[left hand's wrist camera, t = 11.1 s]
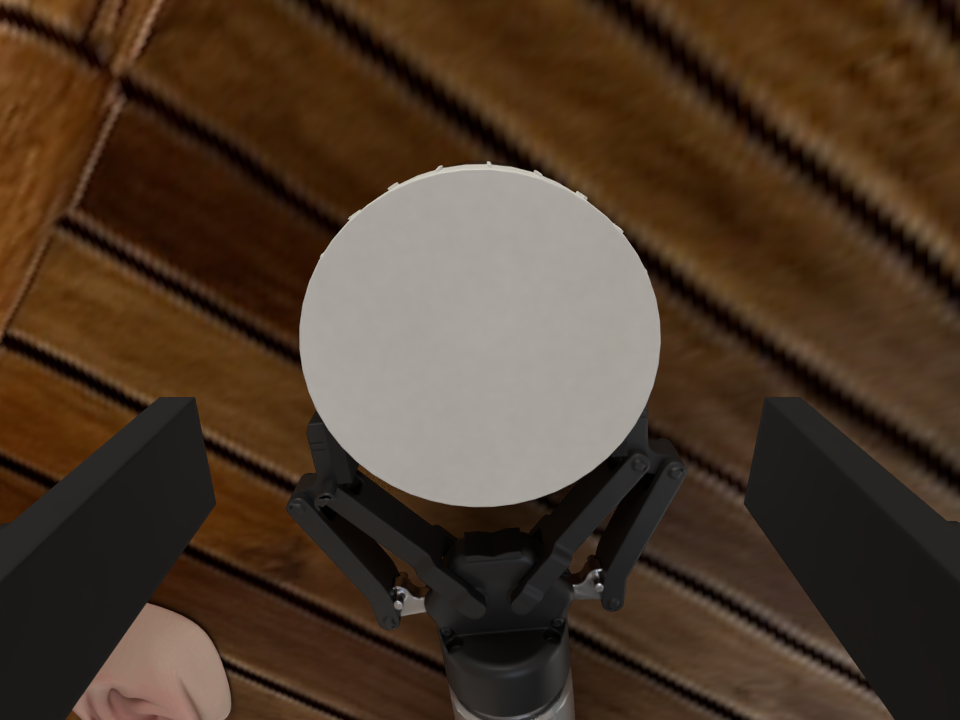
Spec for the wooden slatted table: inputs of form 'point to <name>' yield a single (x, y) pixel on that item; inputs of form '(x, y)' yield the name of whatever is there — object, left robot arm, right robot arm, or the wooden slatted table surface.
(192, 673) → the anatomical model
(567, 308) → the lid
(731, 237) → the wooden slatted table surface
